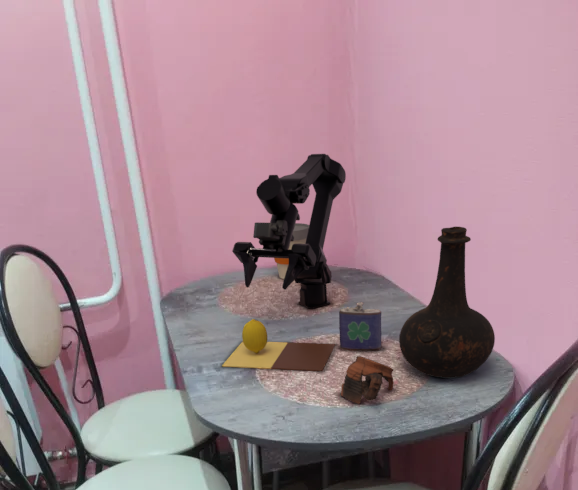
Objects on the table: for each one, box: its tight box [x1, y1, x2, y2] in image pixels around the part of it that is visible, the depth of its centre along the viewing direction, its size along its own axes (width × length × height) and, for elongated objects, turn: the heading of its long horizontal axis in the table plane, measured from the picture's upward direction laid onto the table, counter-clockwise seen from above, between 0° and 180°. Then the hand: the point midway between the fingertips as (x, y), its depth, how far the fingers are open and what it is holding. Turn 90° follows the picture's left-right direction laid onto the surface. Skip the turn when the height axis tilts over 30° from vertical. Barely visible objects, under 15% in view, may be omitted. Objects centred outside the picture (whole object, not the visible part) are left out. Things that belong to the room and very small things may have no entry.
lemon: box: [241, 318, 268, 353], centre depth 133 cm, size 6×6×8 cm
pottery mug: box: [340, 355, 394, 405], centre depth 112 cm, size 12×10×8 cm
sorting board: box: [221, 340, 336, 372], centre depth 133 cm, size 14×22×1 cm, turn 75°
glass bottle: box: [398, 226, 496, 379], centre depth 115 cm, size 18×18×28 cm
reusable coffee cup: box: [273, 222, 309, 280], centre depth 186 cm, size 13×13×15 cm
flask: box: [338, 301, 382, 352], centre depth 131 cm, size 9×3×11 cm, turn 74°
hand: (265, 287), depth 135 cm, fingers open, 9 cm apart
